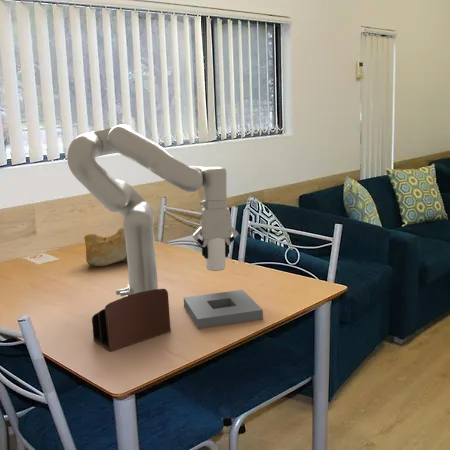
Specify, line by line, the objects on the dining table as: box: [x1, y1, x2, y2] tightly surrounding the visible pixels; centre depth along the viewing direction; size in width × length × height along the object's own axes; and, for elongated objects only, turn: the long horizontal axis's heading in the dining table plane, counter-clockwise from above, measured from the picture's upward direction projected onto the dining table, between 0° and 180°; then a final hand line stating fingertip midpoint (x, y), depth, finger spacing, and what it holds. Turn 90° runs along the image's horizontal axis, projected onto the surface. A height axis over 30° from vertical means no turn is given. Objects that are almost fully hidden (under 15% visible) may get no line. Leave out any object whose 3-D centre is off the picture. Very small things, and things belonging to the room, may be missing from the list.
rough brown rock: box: [84, 227, 127, 267], centre depth 244 cm, size 23×17×15 cm
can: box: [205, 238, 226, 272], centre depth 195 cm, size 6×6×12 cm
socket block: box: [183, 289, 264, 329], centre depth 181 cm, size 20×20×3 cm
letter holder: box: [91, 288, 172, 352], centre depth 165 cm, size 10×20×14 cm, turn 129°
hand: (215, 256), depth 195 cm, fingers closed on can, 6 cm apart
